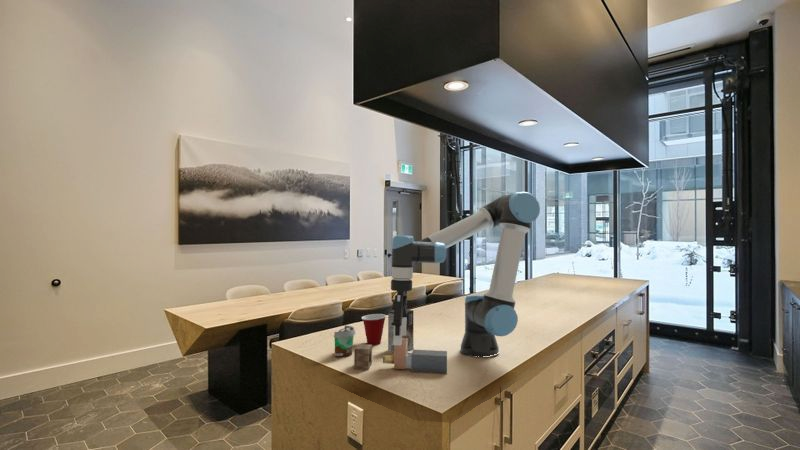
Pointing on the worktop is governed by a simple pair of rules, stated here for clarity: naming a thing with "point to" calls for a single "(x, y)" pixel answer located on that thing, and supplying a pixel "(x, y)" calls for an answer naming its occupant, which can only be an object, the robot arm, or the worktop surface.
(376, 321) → the plastic cup
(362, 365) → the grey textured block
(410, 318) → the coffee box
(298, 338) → the worktop surface
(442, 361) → the block
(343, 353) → the food container
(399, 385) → the worktop surface
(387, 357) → the slider
